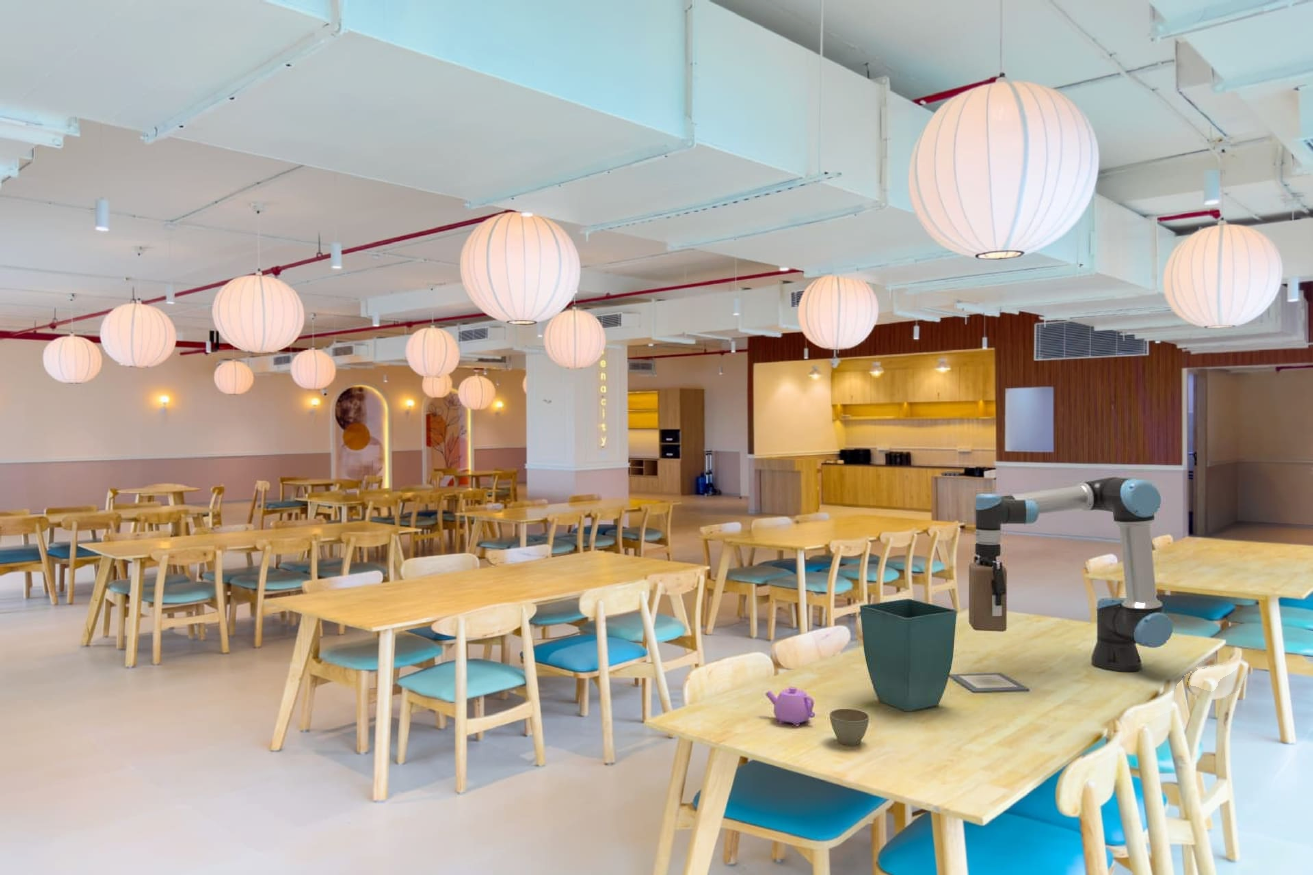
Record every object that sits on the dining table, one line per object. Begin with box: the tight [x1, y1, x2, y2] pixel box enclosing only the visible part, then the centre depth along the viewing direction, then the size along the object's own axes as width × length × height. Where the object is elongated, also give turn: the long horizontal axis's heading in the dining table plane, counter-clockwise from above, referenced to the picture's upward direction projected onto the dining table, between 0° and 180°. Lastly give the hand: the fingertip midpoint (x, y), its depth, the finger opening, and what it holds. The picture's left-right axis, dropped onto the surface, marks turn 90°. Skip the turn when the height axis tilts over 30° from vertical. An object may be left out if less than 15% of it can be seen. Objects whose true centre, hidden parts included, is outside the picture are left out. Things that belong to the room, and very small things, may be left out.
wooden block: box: [968, 562, 1008, 633], centre depth 275 cm, size 10×10×20 cm
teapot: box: [765, 686, 816, 726], centre depth 240 cm, size 10×15×9 cm
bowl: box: [829, 708, 870, 746], centre depth 224 cm, size 10×10×7 cm
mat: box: [949, 672, 1031, 694], centre depth 275 cm, size 18×18×1 cm
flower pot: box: [859, 598, 958, 712], centre depth 255 cm, size 20×20×28 cm
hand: (987, 611), depth 275 cm, fingers closed on wooden block, 11 cm apart
